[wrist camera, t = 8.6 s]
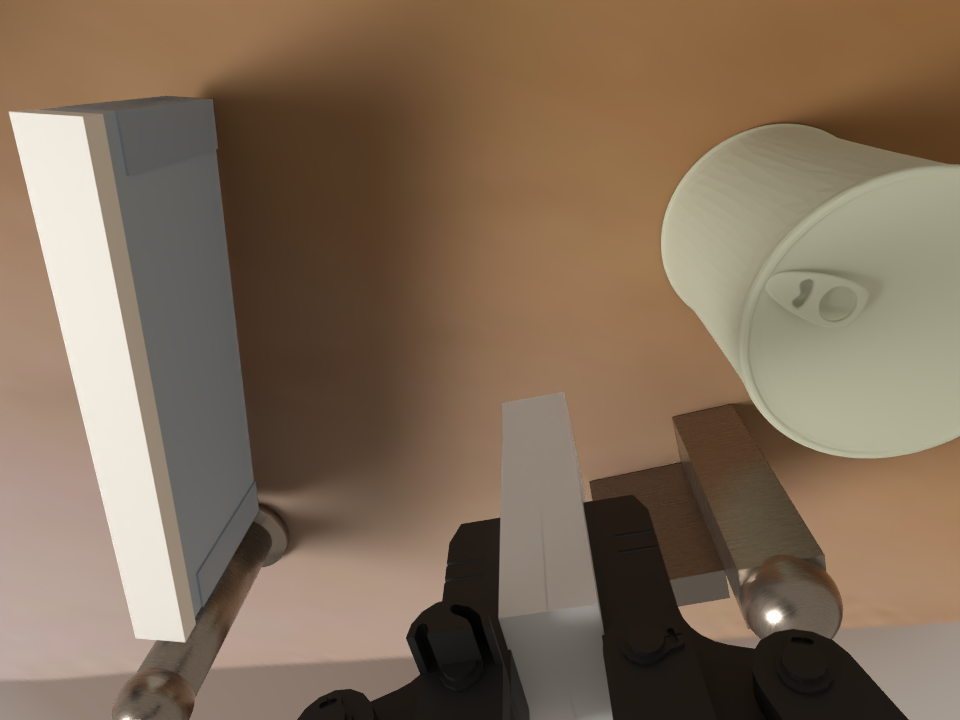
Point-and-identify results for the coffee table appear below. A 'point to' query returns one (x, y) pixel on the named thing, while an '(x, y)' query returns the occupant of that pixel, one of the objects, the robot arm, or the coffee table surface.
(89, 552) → the coffee table surface
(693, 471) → the latch post
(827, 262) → the can
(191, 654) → the hinge post
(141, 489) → the gate
